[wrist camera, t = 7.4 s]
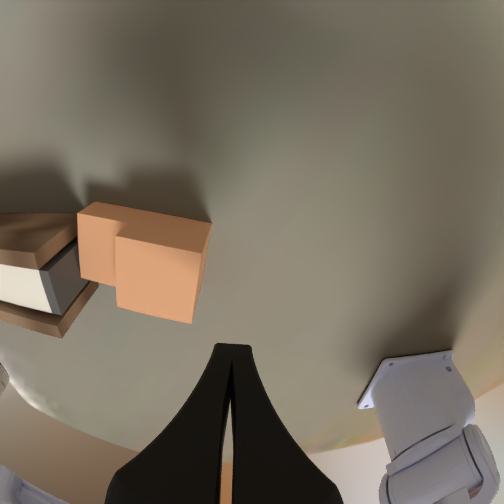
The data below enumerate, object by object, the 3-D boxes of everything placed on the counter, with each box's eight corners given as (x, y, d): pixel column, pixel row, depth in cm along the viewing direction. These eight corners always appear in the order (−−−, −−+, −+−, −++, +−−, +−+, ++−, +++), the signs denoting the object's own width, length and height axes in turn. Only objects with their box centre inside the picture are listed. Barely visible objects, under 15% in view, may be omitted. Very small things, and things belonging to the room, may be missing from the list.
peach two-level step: (212, 222, 17) (201, 253, 13) (201, 283, 19) (191, 324, 15) (96, 200, 16) (61, 224, 13) (96, 260, 18) (68, 292, 15)
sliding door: (87, 235, 17) (47, 271, 12) (94, 273, 18) (61, 315, 14) (-31, 229, 16) (-64, 252, 12) (-24, 257, 18) (-54, 282, 13)
